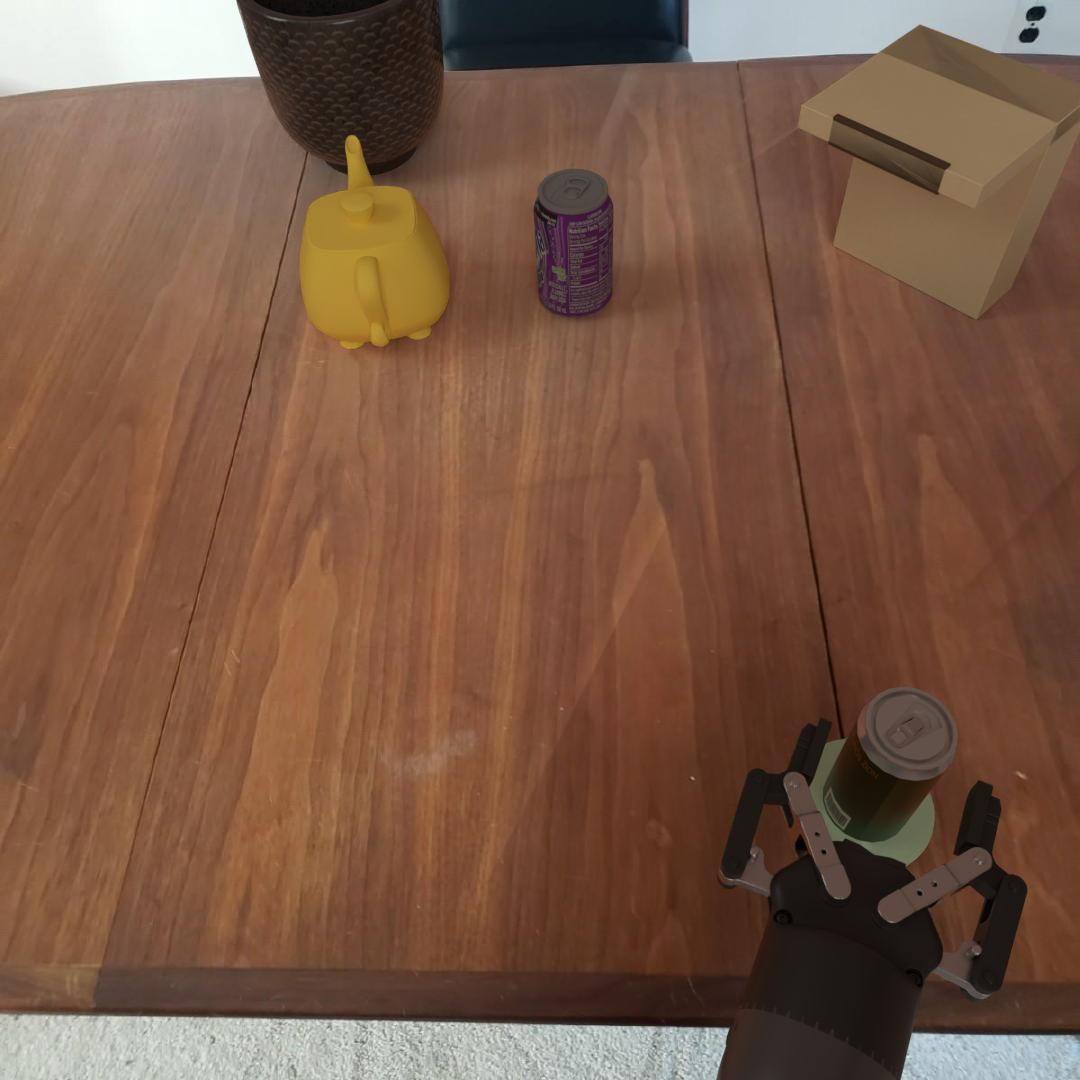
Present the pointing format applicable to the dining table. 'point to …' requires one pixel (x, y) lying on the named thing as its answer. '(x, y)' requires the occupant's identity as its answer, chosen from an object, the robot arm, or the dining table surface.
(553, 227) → the beverage can
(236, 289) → the dining table surface
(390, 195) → the teapot
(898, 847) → the coaster
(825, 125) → the lidded cardboard box
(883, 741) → the beer can
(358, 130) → the planter
